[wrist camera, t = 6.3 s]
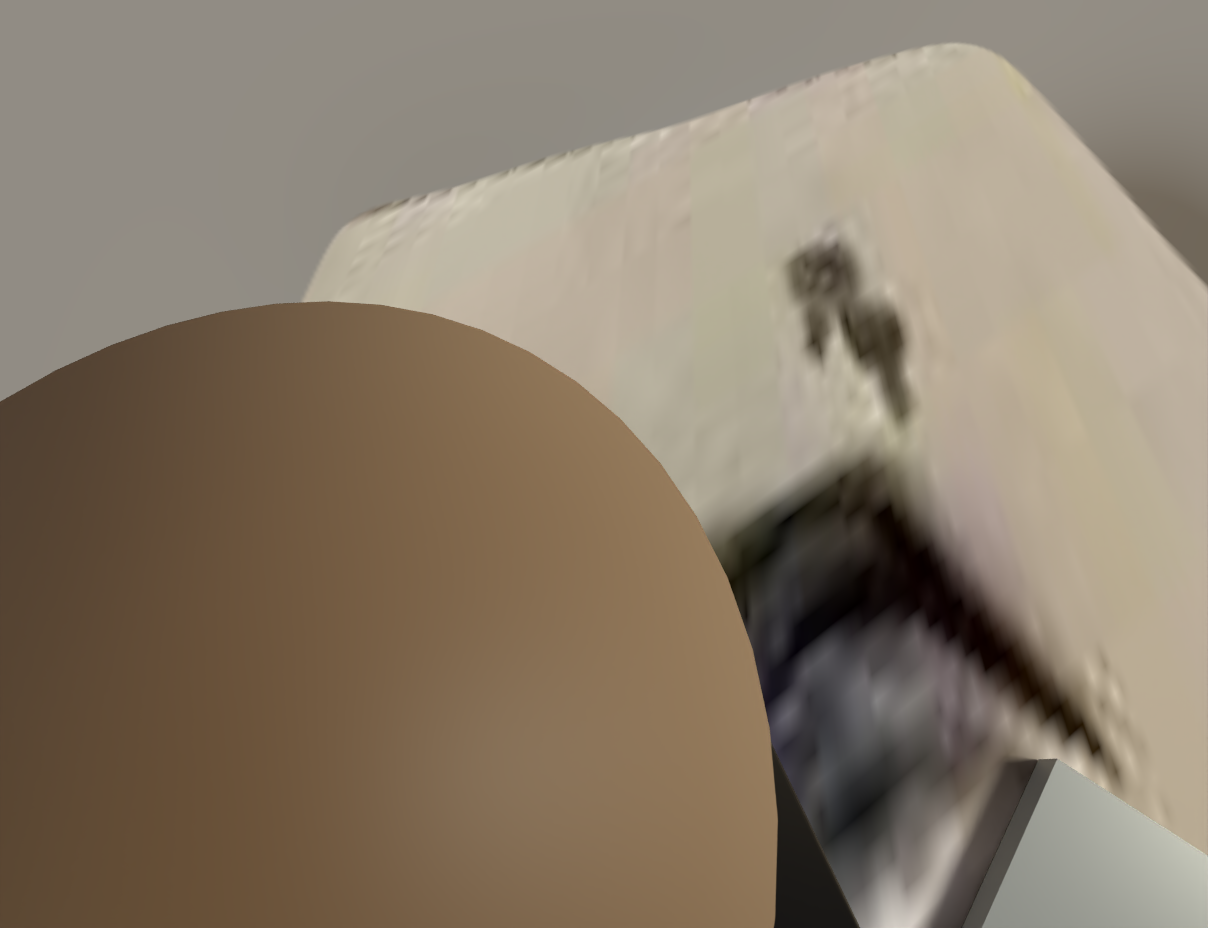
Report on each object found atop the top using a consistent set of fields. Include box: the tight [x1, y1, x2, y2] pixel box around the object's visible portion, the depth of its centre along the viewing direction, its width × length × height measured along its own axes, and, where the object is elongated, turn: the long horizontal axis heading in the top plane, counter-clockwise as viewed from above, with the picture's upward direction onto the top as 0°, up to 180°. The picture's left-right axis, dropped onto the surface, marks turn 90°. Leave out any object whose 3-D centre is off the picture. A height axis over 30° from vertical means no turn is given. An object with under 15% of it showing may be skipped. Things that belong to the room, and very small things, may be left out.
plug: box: [0, 301, 778, 928], centre depth 9 cm, size 5×5×13 cm
